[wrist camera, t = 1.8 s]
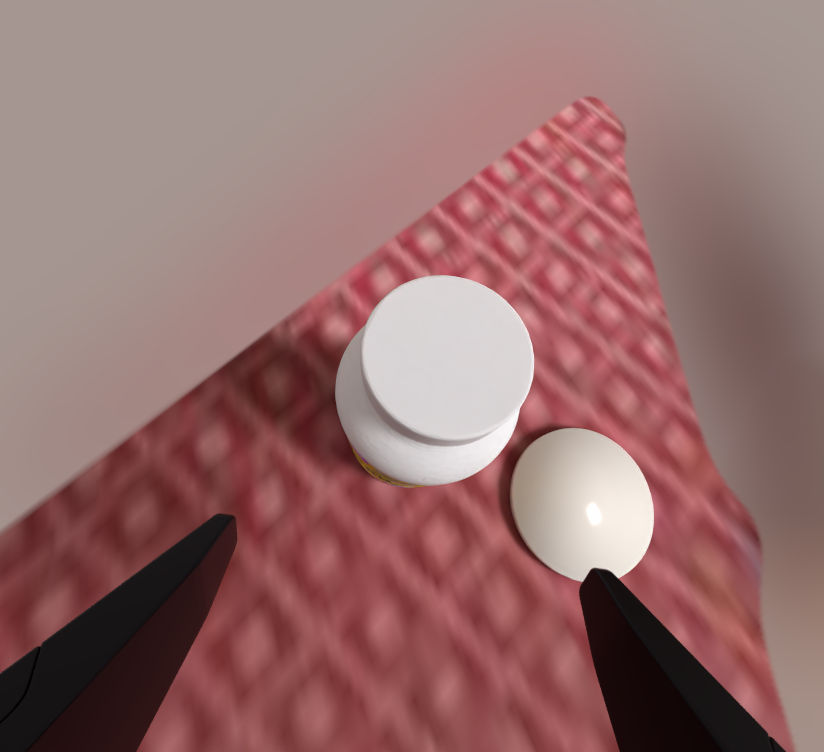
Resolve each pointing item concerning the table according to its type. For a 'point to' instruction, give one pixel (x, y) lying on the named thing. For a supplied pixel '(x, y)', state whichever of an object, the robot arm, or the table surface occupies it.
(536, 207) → the table surface
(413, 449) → the supplement bottle
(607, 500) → the cream round disc
